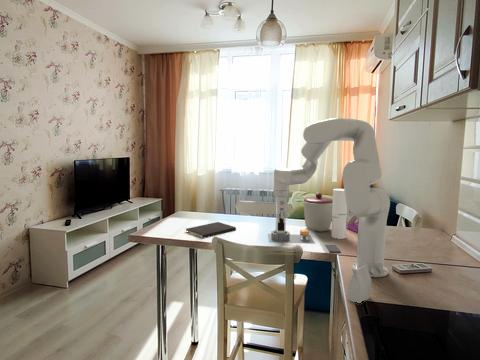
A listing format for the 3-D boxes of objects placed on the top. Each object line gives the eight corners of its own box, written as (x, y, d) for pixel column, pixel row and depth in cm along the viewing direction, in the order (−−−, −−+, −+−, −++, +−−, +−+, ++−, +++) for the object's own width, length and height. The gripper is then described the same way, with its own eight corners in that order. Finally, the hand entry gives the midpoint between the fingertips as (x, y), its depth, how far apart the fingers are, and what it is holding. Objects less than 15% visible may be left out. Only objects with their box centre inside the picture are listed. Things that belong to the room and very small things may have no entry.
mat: (340, 252, 135) (340, 251, 135) (320, 252, 136) (320, 250, 136) (335, 246, 144) (335, 244, 144) (316, 245, 145) (316, 244, 145)
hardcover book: (185, 232, 167) (185, 228, 167) (218, 225, 183) (218, 221, 182) (202, 239, 155) (202, 235, 155) (236, 231, 171) (236, 227, 171)
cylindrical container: (346, 239, 155) (348, 190, 152) (332, 238, 156) (333, 190, 154) (344, 235, 162) (346, 188, 159) (330, 234, 163) (332, 188, 161)
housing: (315, 245, 145) (315, 237, 145) (268, 244, 146) (269, 236, 146) (309, 236, 159) (310, 229, 159) (267, 235, 160) (267, 228, 160)
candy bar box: (345, 228, 176) (346, 200, 174) (352, 227, 178) (353, 200, 176) (359, 233, 165) (360, 204, 164) (366, 232, 167) (368, 203, 165)
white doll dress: (370, 297, 95) (372, 266, 94) (359, 304, 91) (361, 272, 90) (359, 293, 98) (360, 263, 97) (348, 299, 94) (349, 268, 92)
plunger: (309, 240, 150) (309, 232, 149) (300, 240, 150) (300, 232, 150) (308, 238, 154) (308, 229, 154) (299, 237, 155) (299, 229, 154)
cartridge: (285, 239, 150) (286, 216, 149) (275, 239, 150) (275, 215, 149) (285, 236, 155) (285, 213, 154) (274, 236, 156) (275, 213, 154)
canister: (333, 235, 162) (335, 196, 160) (299, 231, 168) (300, 194, 166) (334, 226, 179) (336, 191, 177) (303, 224, 185) (304, 189, 183)
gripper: (290, 196, 142) (289, 234, 144) (287, 190, 159) (286, 224, 161) (274, 195, 142) (273, 233, 144) (272, 190, 159) (272, 224, 161)
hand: (280, 228), depth 152 cm, fingers closed on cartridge, 5 cm apart
